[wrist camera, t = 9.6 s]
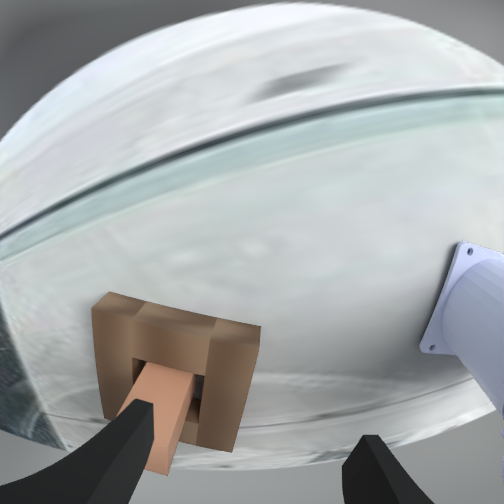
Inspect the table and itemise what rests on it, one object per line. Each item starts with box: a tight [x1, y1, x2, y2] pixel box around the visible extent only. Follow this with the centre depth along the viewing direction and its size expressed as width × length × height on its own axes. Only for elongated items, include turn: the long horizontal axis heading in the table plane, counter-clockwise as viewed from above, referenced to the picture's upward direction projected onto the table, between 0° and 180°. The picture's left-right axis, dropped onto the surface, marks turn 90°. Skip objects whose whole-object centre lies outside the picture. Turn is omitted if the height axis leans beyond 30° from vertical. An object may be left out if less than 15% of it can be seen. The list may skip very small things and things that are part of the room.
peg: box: [116, 362, 197, 476], centre depth 16 cm, size 3×3×8 cm
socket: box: [91, 292, 261, 453], centre depth 19 cm, size 10×10×2 cm
